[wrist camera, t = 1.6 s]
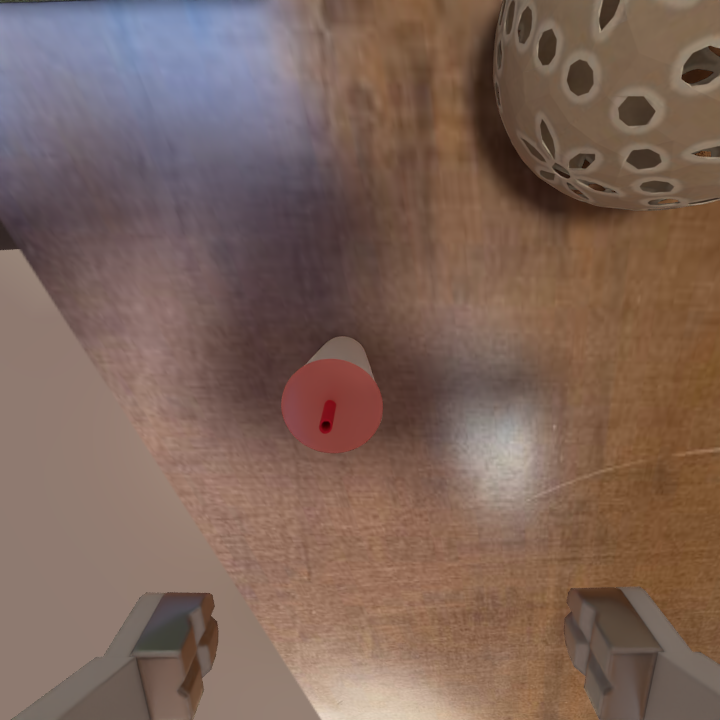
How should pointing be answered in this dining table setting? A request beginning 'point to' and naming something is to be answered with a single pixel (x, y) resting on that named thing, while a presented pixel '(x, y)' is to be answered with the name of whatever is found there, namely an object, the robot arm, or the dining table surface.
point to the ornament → (613, 97)
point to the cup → (333, 399)
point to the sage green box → (30, 0)
